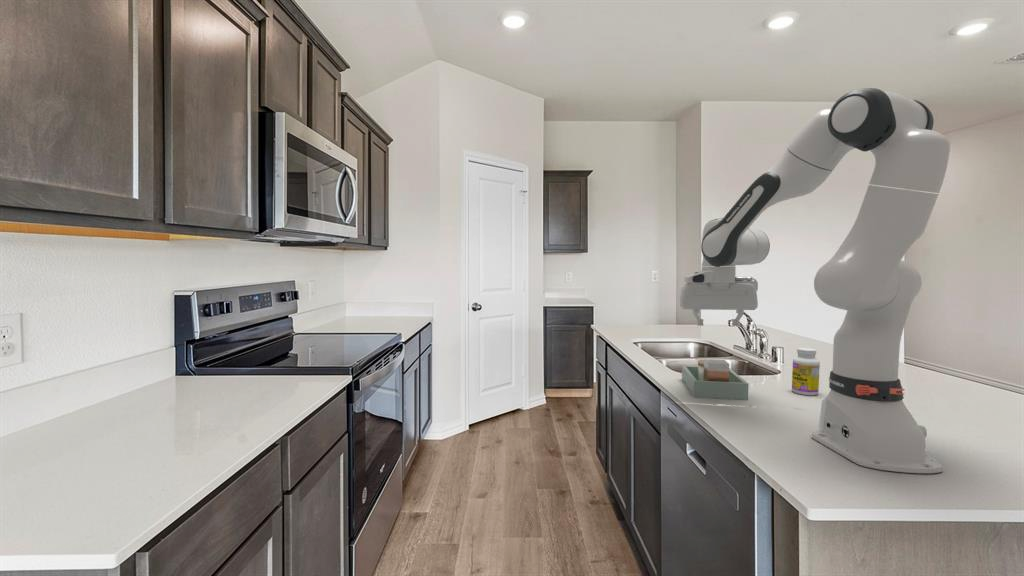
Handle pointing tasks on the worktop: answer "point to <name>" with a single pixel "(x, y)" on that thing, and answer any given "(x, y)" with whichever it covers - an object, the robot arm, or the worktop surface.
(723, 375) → the tea tin
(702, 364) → the ceramic jar
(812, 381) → the supplement bottle
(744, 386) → the tray
